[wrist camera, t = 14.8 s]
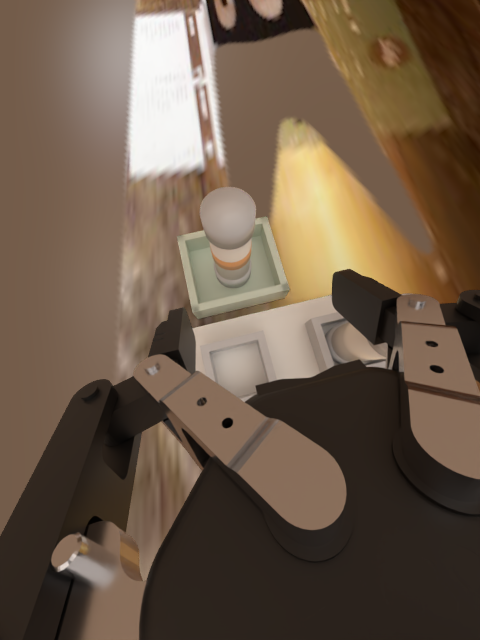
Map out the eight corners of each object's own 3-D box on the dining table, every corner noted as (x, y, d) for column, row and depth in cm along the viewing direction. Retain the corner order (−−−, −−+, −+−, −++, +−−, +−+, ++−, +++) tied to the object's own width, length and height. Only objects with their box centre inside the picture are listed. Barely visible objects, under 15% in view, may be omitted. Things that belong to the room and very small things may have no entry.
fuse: (353, 321, 26) (429, 287, 16) (367, 359, 25) (458, 348, 15) (317, 330, 26) (369, 301, 16) (330, 368, 25) (394, 365, 15)
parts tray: (264, 231, 30) (266, 216, 27) (284, 298, 28) (289, 289, 25) (183, 250, 30) (176, 236, 27) (197, 319, 28) (192, 312, 25)
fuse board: (368, 287, 28) (385, 276, 25) (406, 384, 26) (431, 386, 22) (179, 333, 27) (170, 327, 24) (199, 439, 25) (192, 450, 21)
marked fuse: (245, 252, 29) (248, 181, 18) (254, 283, 28) (262, 228, 17) (212, 260, 29) (194, 193, 18) (219, 291, 28) (206, 241, 17)
